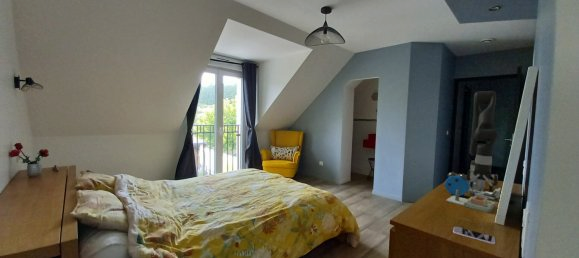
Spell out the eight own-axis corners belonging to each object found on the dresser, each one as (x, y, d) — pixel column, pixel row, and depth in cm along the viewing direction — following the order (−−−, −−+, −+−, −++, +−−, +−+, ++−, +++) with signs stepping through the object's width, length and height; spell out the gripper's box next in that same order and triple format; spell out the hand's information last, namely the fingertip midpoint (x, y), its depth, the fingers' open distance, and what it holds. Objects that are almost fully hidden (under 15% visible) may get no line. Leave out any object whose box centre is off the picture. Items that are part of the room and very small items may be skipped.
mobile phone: (495, 243, 101) (452, 231, 111) (495, 245, 101) (452, 233, 111) (494, 236, 107) (454, 225, 117) (494, 238, 107) (454, 227, 117)
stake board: (452, 196, 158) (453, 185, 158) (469, 200, 151) (470, 189, 151) (446, 200, 150) (446, 189, 149) (463, 205, 143) (464, 194, 142)
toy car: (465, 180, 162) (469, 177, 170) (464, 194, 163) (468, 191, 171) (501, 187, 149) (503, 184, 157) (499, 202, 150) (501, 198, 158)
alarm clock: (469, 196, 159) (470, 174, 158) (467, 198, 155) (469, 176, 153) (446, 191, 168) (447, 170, 167) (443, 193, 164) (445, 171, 163)
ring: (475, 201, 148) (476, 194, 148) (487, 204, 143) (488, 197, 143) (470, 206, 141) (471, 198, 140) (483, 209, 136) (484, 201, 136)
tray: (471, 200, 152) (471, 196, 152) (494, 206, 143) (495, 202, 143) (464, 206, 142) (464, 202, 142) (489, 213, 133) (489, 208, 133)
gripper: (500, 164, 137) (497, 191, 138) (470, 159, 147) (467, 185, 149) (497, 166, 132) (495, 194, 133) (466, 161, 143) (464, 187, 144)
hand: (480, 189), depth 141 cm, fingers open, 8 cm apart
